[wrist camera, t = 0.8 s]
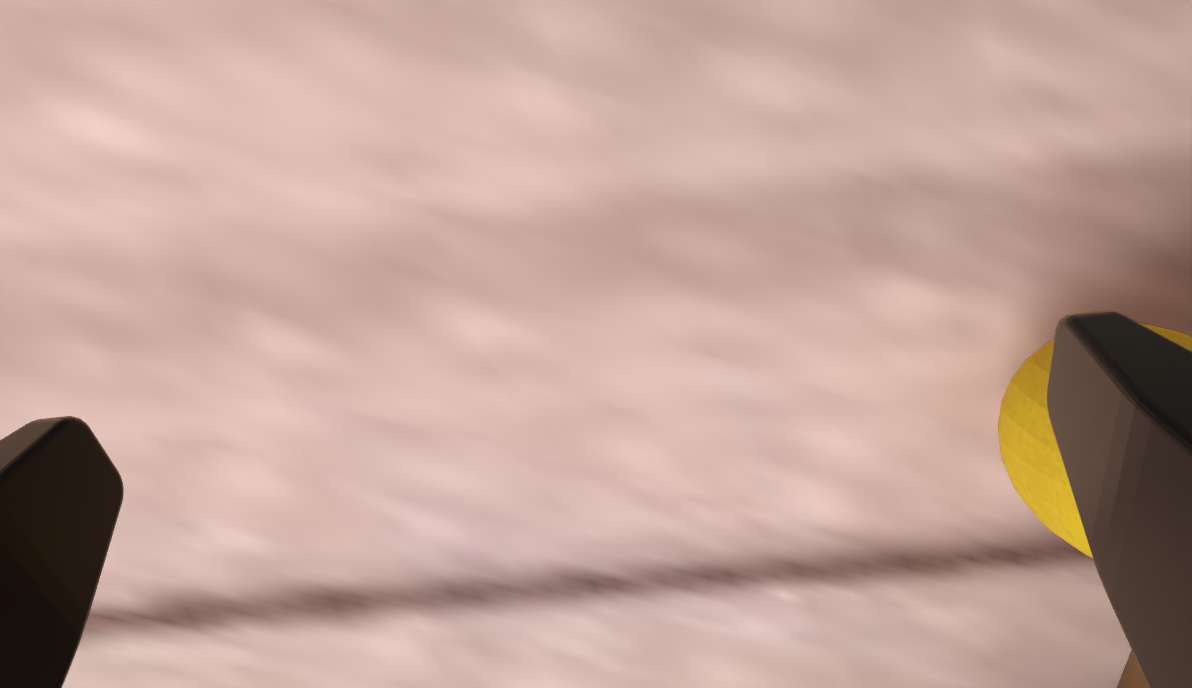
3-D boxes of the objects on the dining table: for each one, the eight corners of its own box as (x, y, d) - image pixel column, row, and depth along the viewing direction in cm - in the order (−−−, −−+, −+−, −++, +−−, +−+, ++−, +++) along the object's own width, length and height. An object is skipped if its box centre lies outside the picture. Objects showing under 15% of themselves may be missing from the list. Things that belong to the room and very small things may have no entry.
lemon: (926, 449, 27) (1046, 603, 19) (1005, 265, 25) (1171, 351, 17) (1107, 503, 27) (1299, 676, 19) (1197, 324, 25) (1444, 433, 18)
